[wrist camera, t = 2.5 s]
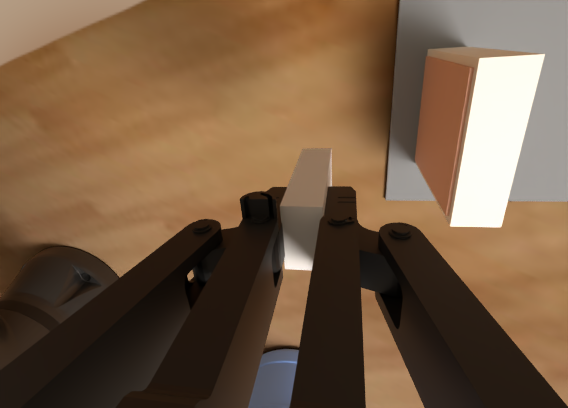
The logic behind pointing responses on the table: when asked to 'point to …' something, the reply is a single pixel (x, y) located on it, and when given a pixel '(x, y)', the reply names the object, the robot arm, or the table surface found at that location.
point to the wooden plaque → (474, 128)
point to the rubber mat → (493, 35)
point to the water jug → (275, 379)
